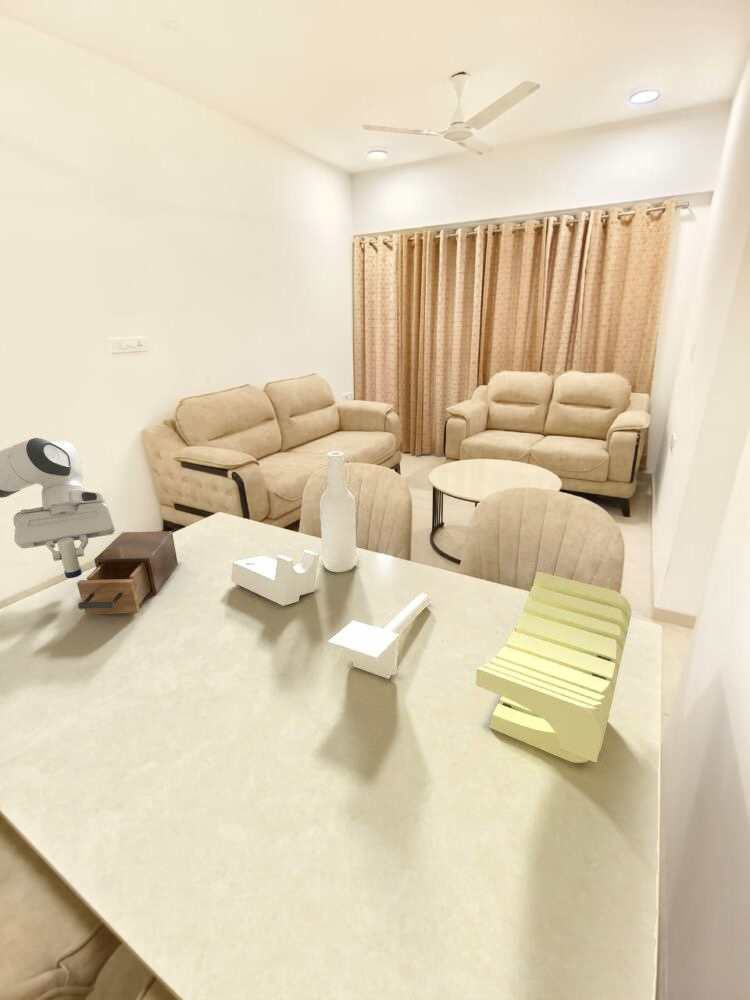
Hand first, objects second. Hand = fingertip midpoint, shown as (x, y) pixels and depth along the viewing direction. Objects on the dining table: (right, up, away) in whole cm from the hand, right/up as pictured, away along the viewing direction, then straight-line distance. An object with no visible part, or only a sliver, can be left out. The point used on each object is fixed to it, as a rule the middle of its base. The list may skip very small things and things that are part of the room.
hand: (69, 557), depth 116 cm
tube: (0, -4, +2) cm, 5 cm away
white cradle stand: (+47, -8, +5) cm, 48 cm away
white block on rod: (+75, -15, -16) cm, 78 cm away
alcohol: (+62, -4, +14) cm, 64 cm away
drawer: (+13, -10, -3) cm, 17 cm away
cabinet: (+13, -6, +9) cm, 17 cm away
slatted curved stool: (+99, -22, -35) cm, 108 cm away
